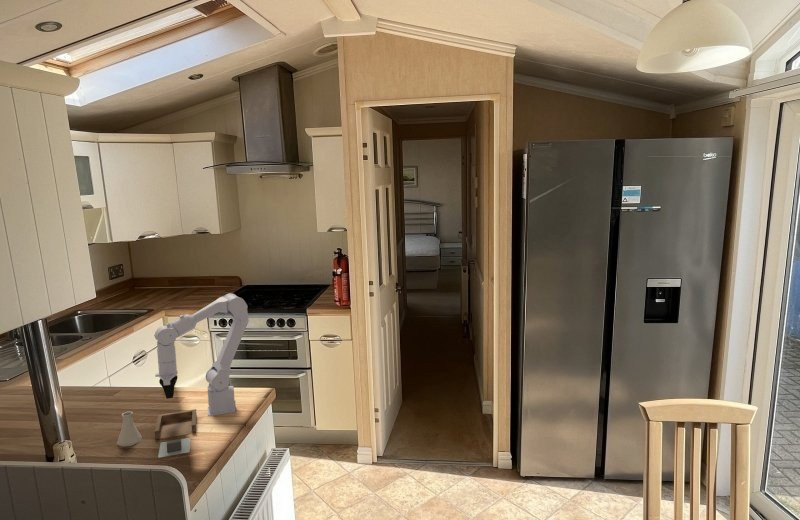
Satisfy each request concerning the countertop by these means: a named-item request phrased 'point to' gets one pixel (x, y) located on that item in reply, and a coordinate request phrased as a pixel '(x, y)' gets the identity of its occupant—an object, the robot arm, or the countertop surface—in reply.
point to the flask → (128, 431)
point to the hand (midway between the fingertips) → (169, 397)
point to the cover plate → (184, 448)
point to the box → (176, 424)
